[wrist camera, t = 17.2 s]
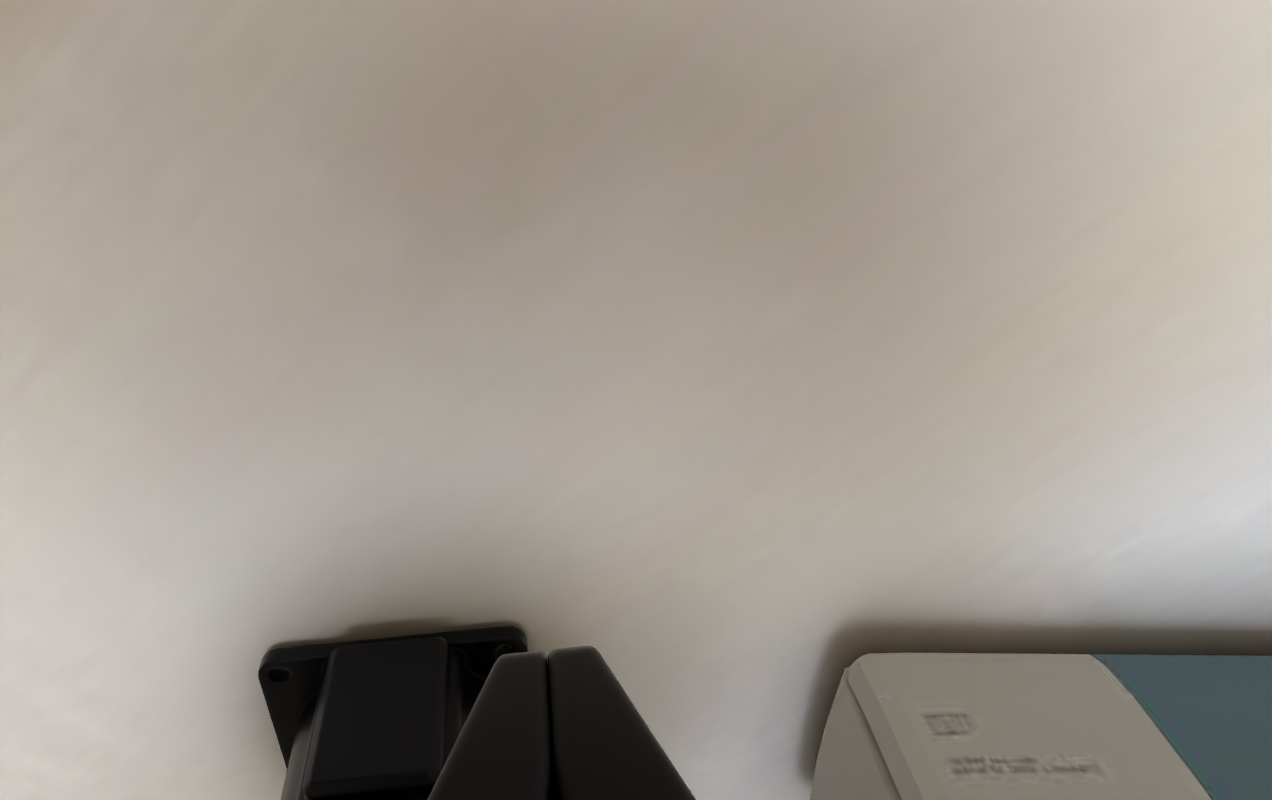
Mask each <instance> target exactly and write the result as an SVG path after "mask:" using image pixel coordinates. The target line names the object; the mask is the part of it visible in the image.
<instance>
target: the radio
mask: <svg viewBox="0 0 1272 800" xmlns="http://www.w3.org/2000/svg"><path fill="white" fill-rule="evenodd" d="M810 800H1272V656H1242V655H1129V654H1092V655H1090V654H1005V653H868V654H865V655H862V656H861V657H859V658H858V659H857V660H856V661H855V662H854V663H853V664H852V665H851V666H849V667H847V668H845V669H844V672H843V675H842V678H841V681H840V684H839V687H838V690H837V693H836V695H835V698H834V701H833V704H832V707H831V710H830V713H829V716H828V719H827V722H826V726H825V730H824V734H823V737H822V741H821V745H820V749H819V752H818V756H817V760H816V766H815V772H814V779H813V785H812V792H811V798H810Z"/></svg>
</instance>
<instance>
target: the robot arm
mask: <svg viewBox="0 0 1272 800" xmlns="http://www.w3.org/2000/svg"><path fill="white" fill-rule="evenodd" d="M505 645H510V646H513V647H511V648H502V646H505ZM276 668H283V669H285V670H286V671H283V670H278V669H276ZM258 675H259V681H260V684H261V687H262V690H263V694H264V697H265V700H266V703H267V706H268V710H269V713H270V716H271V719H272V722H273V726H274V729H275V732H276V735H277V738H278V742H279V745H280V748H281V751H282V754H283V758H284V761H285V764H286V767H287V773H286V778H285V782H284V787H283V791H282V796H281V800H696V799H695V798H694V796H693V795H692V793H691V792H690V790H689V789H688V787H687V786H686V784H685V783H684V781H683V779H682V778H681V776H680V775H679V773H678V772H677V770H676V769H675V767H674V766H673V764H672V763H671V761H670V760H669V758H668V757H667V755H666V754H665V752H664V751H663V749H662V748H661V746H660V744H659V743H658V741H657V740H656V738H655V737H654V735H653V734H652V732H651V731H650V729H649V728H648V726H647V725H646V723H645V722H644V720H643V719H642V717H641V716H640V714H639V712H638V711H637V709H636V708H635V706H634V705H633V703H632V702H631V700H630V699H629V697H628V696H627V694H626V693H625V691H624V690H623V688H622V687H621V685H620V684H619V682H618V680H617V679H616V677H615V676H614V674H613V673H612V671H611V670H610V668H609V667H608V665H607V664H606V662H605V661H604V659H603V658H602V656H601V655H600V653H599V652H598V651H597V650H596V649H595V648H593V647H591V646H582V647H572V648H562V649H555V650H552V651H551V652H550V653H549V655H548V662H547V657H546V655H545V654H544V653H543V652H541V651H532V652H528V642H527V637H526V635H525V633H524V632H523V631H521V630H520V629H518V628H515V627H495V628H485V629H475V630H465V631H454V632H444V633H434V634H424V635H414V636H403V637H393V638H383V639H373V640H362V641H352V642H342V643H332V644H321V645H311V646H301V647H291V648H280V649H275V650H271V651H270V652H268V653H266V654H265V655H264V657H263V659H262V661H261V665H260V668H259V672H258Z"/></svg>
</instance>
